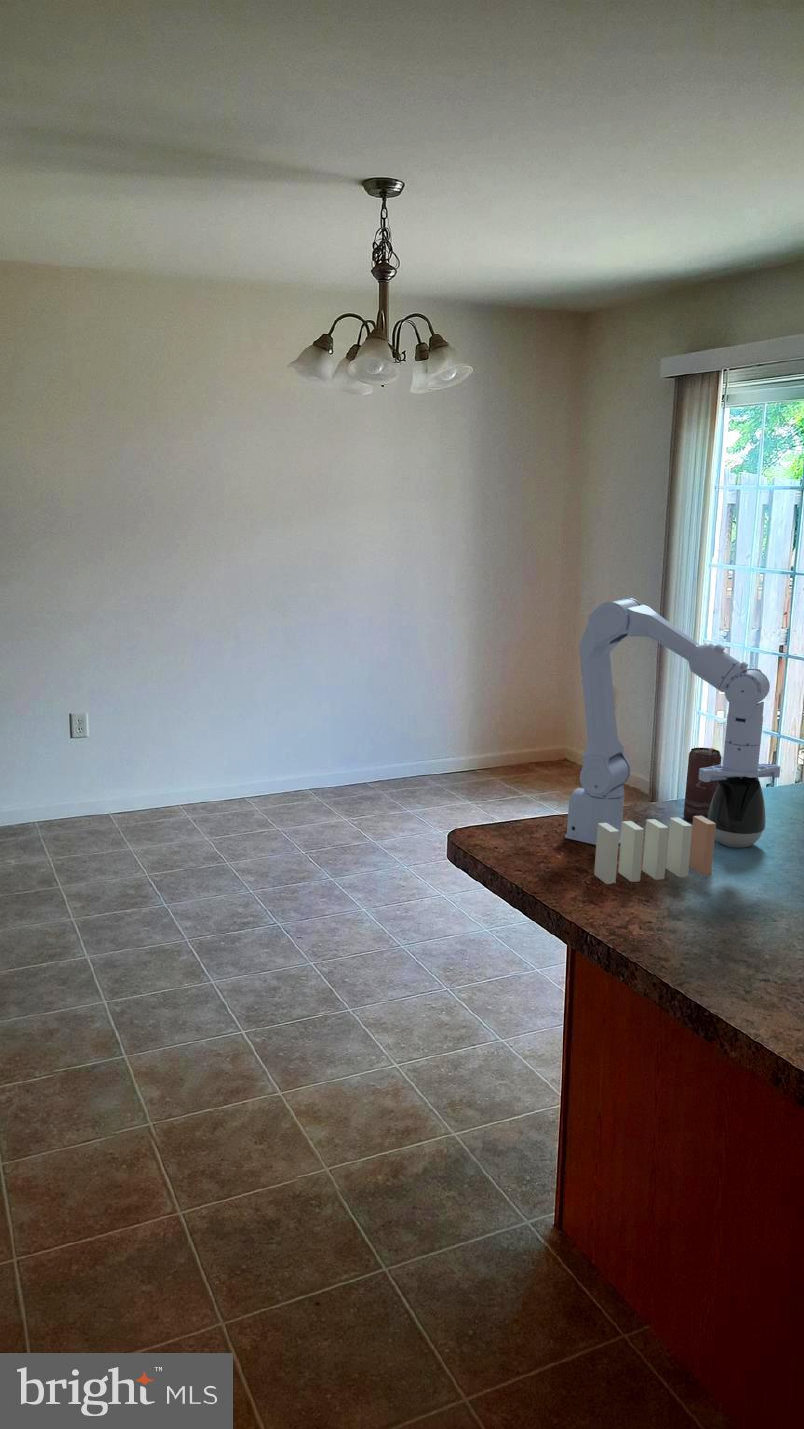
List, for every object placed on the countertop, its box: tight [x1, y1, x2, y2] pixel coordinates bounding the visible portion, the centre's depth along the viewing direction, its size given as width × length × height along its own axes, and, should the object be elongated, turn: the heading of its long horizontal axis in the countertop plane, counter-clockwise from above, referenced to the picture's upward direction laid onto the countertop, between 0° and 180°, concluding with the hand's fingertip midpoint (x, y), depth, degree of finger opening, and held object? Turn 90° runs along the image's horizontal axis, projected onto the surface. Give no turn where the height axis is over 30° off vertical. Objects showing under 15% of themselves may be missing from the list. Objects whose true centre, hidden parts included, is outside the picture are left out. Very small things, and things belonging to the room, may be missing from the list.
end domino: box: [689, 816, 716, 876], centre depth 178 cm, size 2×4×9 cm, turn 17°
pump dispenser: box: [707, 778, 766, 849], centre depth 191 cm, size 10×10×15 cm
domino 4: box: [665, 817, 693, 878], centre depth 177 cm, size 2×4×9 cm, turn 17°
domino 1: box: [593, 823, 619, 885], centre depth 173 cm, size 2×4×9 cm, turn 17°
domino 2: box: [618, 820, 645, 883], centre depth 174 cm, size 2×4×9 cm, turn 17°
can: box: [683, 747, 722, 823], centre depth 205 cm, size 6×6×14 cm
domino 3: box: [641, 818, 669, 881], centre depth 175 cm, size 2×4×9 cm, turn 17°
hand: (735, 819), depth 179 cm, fingers closed
